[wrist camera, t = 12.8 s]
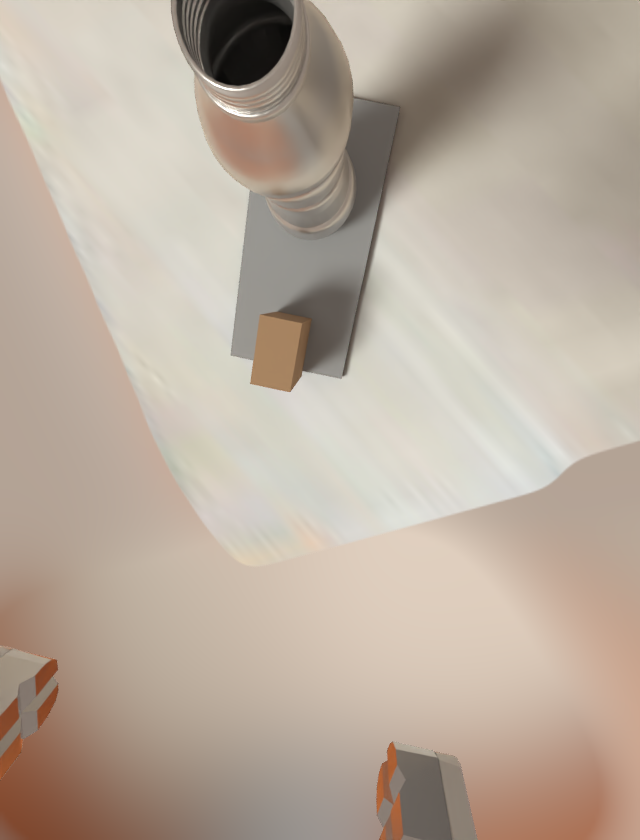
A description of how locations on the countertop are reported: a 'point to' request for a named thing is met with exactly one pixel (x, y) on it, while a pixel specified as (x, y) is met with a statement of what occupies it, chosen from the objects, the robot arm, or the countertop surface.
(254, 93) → the plastic bottle
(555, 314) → the countertop surface
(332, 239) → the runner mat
